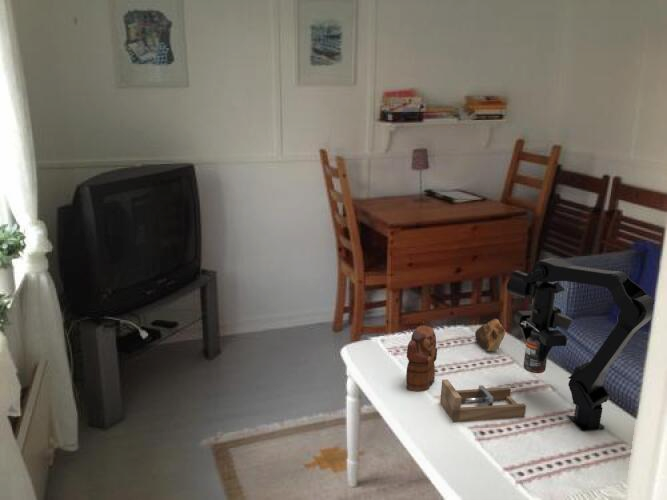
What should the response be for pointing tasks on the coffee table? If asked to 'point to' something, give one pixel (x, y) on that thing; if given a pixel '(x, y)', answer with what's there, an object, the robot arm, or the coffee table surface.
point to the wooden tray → (455, 398)
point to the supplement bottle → (533, 355)
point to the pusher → (482, 397)
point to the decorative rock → (490, 335)
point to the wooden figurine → (421, 359)
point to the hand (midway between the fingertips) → (535, 356)
